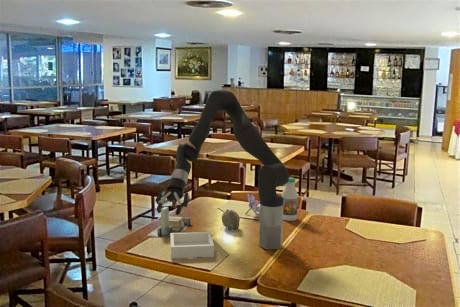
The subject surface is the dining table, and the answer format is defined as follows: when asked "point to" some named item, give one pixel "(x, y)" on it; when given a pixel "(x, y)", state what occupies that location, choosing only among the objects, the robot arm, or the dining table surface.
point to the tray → (191, 245)
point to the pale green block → (164, 219)
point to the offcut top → (175, 221)
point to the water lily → (253, 205)
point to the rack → (169, 230)
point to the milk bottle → (290, 201)
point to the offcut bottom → (177, 226)
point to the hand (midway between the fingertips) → (167, 213)
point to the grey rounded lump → (230, 219)
